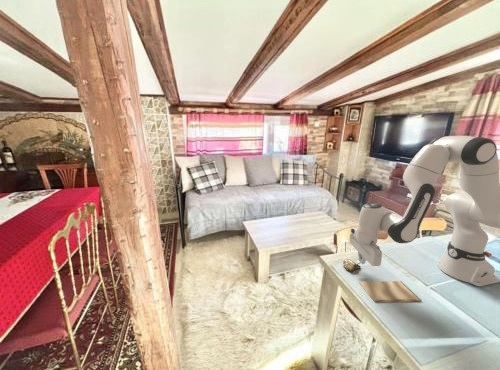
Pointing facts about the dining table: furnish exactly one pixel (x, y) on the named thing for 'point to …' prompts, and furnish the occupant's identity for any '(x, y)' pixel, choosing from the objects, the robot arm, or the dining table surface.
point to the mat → (389, 291)
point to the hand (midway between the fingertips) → (361, 261)
